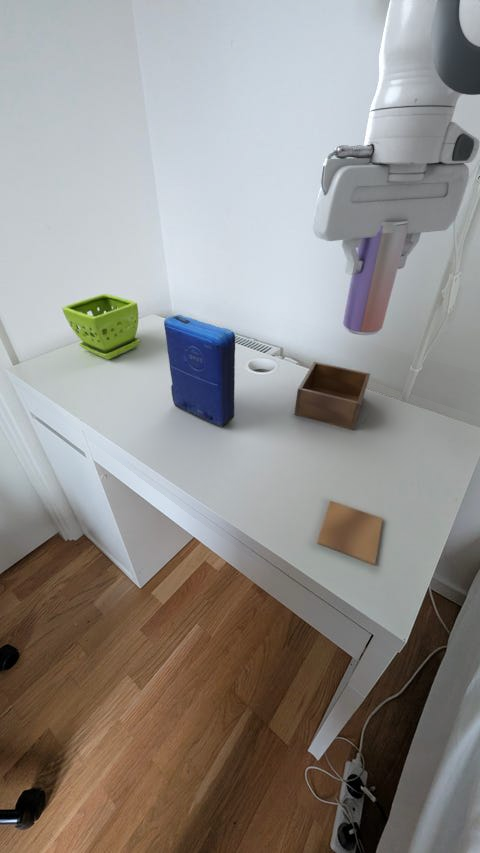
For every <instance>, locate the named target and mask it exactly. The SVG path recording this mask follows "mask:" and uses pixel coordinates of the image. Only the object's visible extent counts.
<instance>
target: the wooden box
mask: <svg viewBox="0 0 480 853" xmlns="http://www.w3.org/2000/svg"><path fill="white" fill-rule="evenodd" d="M370 376H371V373H370V372H364V371H360V370H355V369H351V368H346V367H340V366H336V365H332V364H326V363H323V362H317V361H313V362H312V364H311V366H310V367H309V369H308V371H307V373H306V374H305V376H304V377H303V379H302V381H301V383H300V385H299V386H298V388H297V392H296V400H295V405H294V406H295V407H294V415H295V416H299V417H303V418H305V419H310V420H314V421H317V422H321V423H324V424H328V425H333V426H336V427H339V428H343V429H346V430H350V431H354V429H355V426H356V423H357V420H358V416H359V413H360V410H361V407H362V404H363V400H364V397H365V394H366V390H367V387H368V383H369V380H370Z"/></svg>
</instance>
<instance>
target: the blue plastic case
mask: <svg viewBox="0 0 480 853" xmlns="http://www.w3.org/2000/svg"><path fill="white" fill-rule="evenodd" d="M163 328H164V331H165V332H164V333H165V341H166V350H167V355H168V356H167V358H168V363H169V371H170V377H171V378H170V379H171V386H170V389H171V397H172V402H173V405H174V406H175V407H177V408H178V409H179V410H183V411H185V412H186V413H189V414H191V415H193V416H195V417H197V418H199V419H201V420H204V421H206V422H208V423H210V424H212V425H217V426H219V427H222V428H223V427H224V426H226V425H227V424H228V423H229V422H230V421H232V420H233V419H234V417H235V384H236V383H235V382H236V381H235V378H236V373H235V372H236V368H235V367H236V334H235V332H234V331H233V330H231V329H229V328H225V327H220V326H216V325H213V324H210V323H205V322H203V321H200V320H198V319H193V318H191V317H187V316H185V315H182V314H176V315H172V316H170V317H169V316H168V317H167V318H165V319H164V321H163Z"/></svg>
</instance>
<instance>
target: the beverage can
mask: <svg viewBox="0 0 480 853" xmlns="http://www.w3.org/2000/svg"><path fill="white" fill-rule="evenodd" d="M408 221H409V220H407V221H403V222H382V227H381V229H380V231H379V232H378V234H377V236H375V237H369V238H362V239H361V244H360V247H359V248H356V251H357V255H358V259H360V260H363V261H364V262H363V266H362V271H361V273H360V274H354V275H351V278H350V281H349V282H350V283H349V288H348V294H347V299H346V305H345V310H344V314H343V321H342V324H343V327H344V329H345V330H346V331H347V332H349V333H351V334H354V335H359V336H372V335H376V334H378V333H379V332H380V331H381V330H382V328H383V327H384V322H385V318H386V316H387V311H388V307H389V303H390V299H391V296H392V292H393V289H394V288H393V287H394V285H395V280H396V277H397V273H398V270H399V269H398V265H399V262H400V258H401V254H402V250H403V246H404V243H405V239H406V235H407V231H408V226H407V223H408Z"/></svg>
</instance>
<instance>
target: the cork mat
mask: <svg viewBox="0 0 480 853" xmlns="http://www.w3.org/2000/svg"><path fill="white" fill-rule="evenodd" d="M382 525H383V518H382V517H380V516H377V515H374V514H371V513H368V512H365V511H362V510H359V509H356V508H353V507H350V506H348V505H344V504H342V503H339V502H336V501H332V500H330V501H329V504H328V507H327V510H326V512H325V516H324V520H323V523H322V526H321V529H320V533H319V536H318V537H317V538H318V540H317V543H316V544H317V545H320V546H323V547H326V548H329V549H331V550H333V551H336V552H338V553H341V554H344V555H347V556H349V557H352V558H355V559H357V560H359V561H362V562H365V563H367V564H370V565H373V566H376V564H377V563H376V562H377V557H378V550H379V544H380V538H381V532H382Z"/></svg>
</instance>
